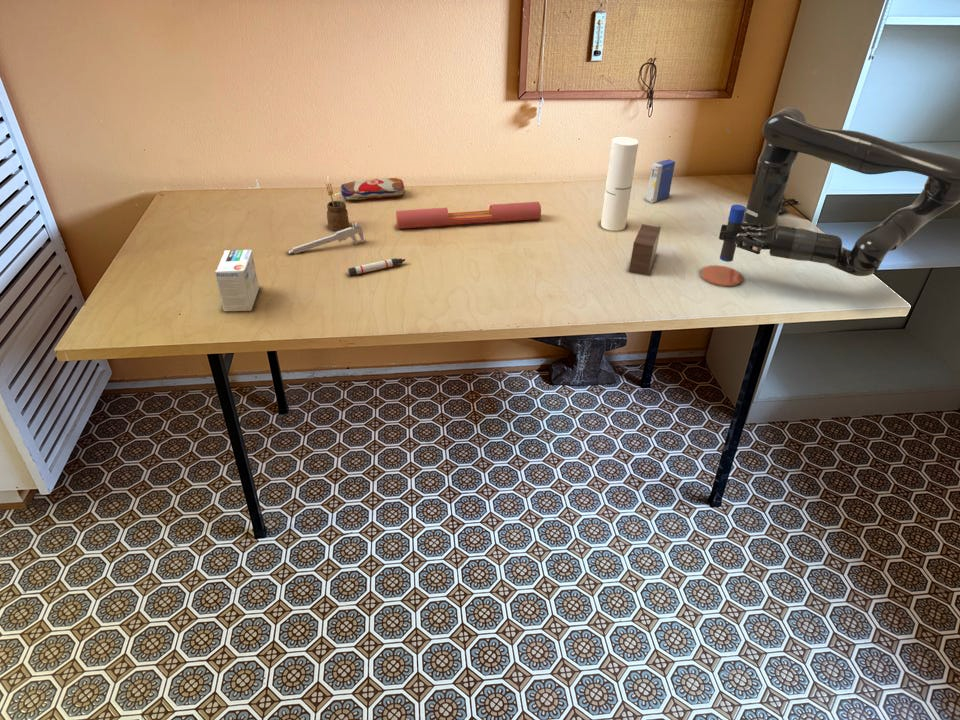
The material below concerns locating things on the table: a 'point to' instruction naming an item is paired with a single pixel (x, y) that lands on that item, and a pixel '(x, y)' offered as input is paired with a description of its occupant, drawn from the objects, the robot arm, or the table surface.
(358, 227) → the caliper
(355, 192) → the pencil case
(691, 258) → the table surface
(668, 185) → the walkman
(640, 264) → the walnut block
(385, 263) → the marker
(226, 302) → the light bulb box
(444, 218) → the blood vessel
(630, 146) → the cylindrical container
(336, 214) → the utensil holder
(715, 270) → the coaster
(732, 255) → the felt marker
